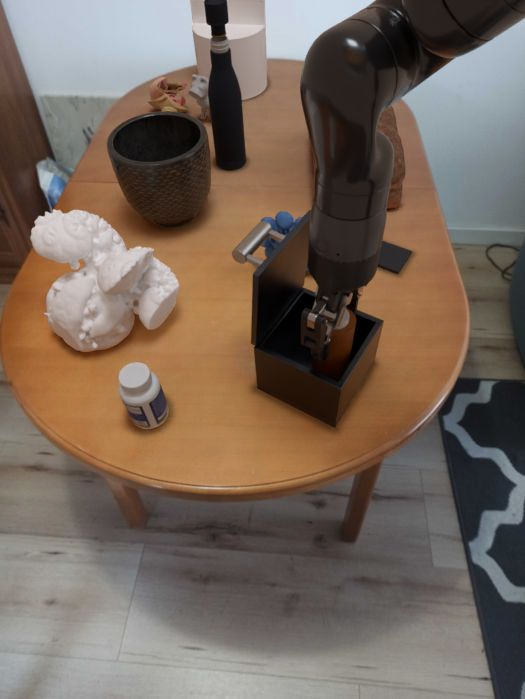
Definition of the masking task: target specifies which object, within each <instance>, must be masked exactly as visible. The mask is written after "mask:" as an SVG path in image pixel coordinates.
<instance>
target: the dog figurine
mask: <svg viewBox="0 0 525 699" xmlns="http://www.w3.org/2000/svg"><path fill="white" fill-rule="evenodd" d="M191 76H192V82H191V83H190V84H191V85H190V88H189V90H188V92H187V93H188V95H189V96H190V97H191V98H193V99H195V100H196V104H197V105H198V106H199V107H200V112H201V113H200V117H199V119H200V120H205V119H206V118H207V112H208V111H209V112H210V108H209V100H208V84H209V77H210V76H209V77H208V79H207V78H206V77H204V76H198V74H195V73H193V74H192V75H191Z"/></svg>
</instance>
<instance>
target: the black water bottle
mask: <svg viewBox="0 0 525 699" xmlns="http://www.w3.org/2000/svg"><path fill="white" fill-rule="evenodd" d="M204 6H205V15H206V23H207V24H208V25H210V26H211V36H212V38H211V41H210V44H211V50H210V56H211V65H212V67H211V72H210V77H209V84H208V100H209V108H210V111H209V114H210V121H211V122H210V124H211V130H212V140H213V148H214V156H215V162H216V166H217V168H220V169H222V170H224V171H236V170H239V169H241V168H243V167H244V166H245V165H246V163H247V155H246V154H247V153H246V138H245V126H244V113H243V111H244V110H243V100H242V96H241V90H240V86H239V82H238V79H237V76H236V74H235V71H234V69H233V66H232V59H231V50H230V48H229V44H228V43H229V40H228V38H227V36H225V35H226V30H225V24H227V23H228V22H229V19H228V7H227V0H205V1H204Z"/></svg>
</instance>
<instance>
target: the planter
mask: <svg viewBox="0 0 525 699" xmlns="http://www.w3.org/2000/svg"><path fill="white" fill-rule="evenodd" d="M106 150H107V154H108V157H109V160H110V163H111V167H112V170H113V172H114V175H115V178H116V180H117V183H118V185H119V188H120V190H121V193H122V194H123V196H124V197H125V200H126V202H127V203H128V205H129V206H130V207H131V209H132V210H133V211H134V212H135V213H137V215H138V216H140V217H141V218H143V219H145V220H147V221H149V222H151V223H153V224H154V225H156V226H159V227H162V228H168V229H173V228H179V227H182V226H184V225H187V224H189V223H190V222H191V221H192V220H193V219H194V218H195V217H196V215H197V214H198V213H199V212H200V211H201V210H202V209H203V208H204V206H205V204H206V203H207V200H208V198H209V194H210V191H211V184H212V165H211V164H212V163H211V162H212V161H211V149H210V142H209V134H208V131H207V127H206V126H205V124H204V123H203V122H202V121H201V120H199V119H198V118H197V117H195V116H192V115H190V114H187V113H185V112H181V113H179V112H171V111H162V112H161V111H153V112H146V113H143V114H138V115H136V116H133V117H130V118H128V119H127V120H125V121H122V122H121V123H120V124H118V125H117V126H116V127H115V128H114V129H112V131H111V132H110V133H109V135H108V137H107V141H106Z"/></svg>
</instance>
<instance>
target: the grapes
mask: <svg viewBox="0 0 525 699" xmlns="http://www.w3.org/2000/svg"><path fill="white" fill-rule="evenodd" d="M302 217H303V216H298V217H297V218H295V219H294V216H293V215H292V214H291V213H289V212H288V211H284V210H283V211H278V212H277V213H276V214H275V216H274V218H273V217H271V216H264V217H263V218H261V219H260V222H261V221H265V222H267V223H269V224H270V226H271V227H272V230H273V231H276V232H278V233H280V234H282V235H284V236H286V235H287V234H288V233H289V232H290V231H291V230H292V229H293V228H294V226H295V225H296V224H297V223H298V222H299V221H300V220H301V218H302ZM279 243H280V242H279V241H277V240H275V239H272V238H270V237H268V238H267V239H266V240H265V241H264V243H263V244H262V245H261V246H260V247H261V248H264V256H265V258H267V257H268V256H269V255H270V254H271V252H272V251H273V250H274V249H275V248H276V247H277V246H278V245H279ZM307 272H309V270H308V261H307V268H306V273H307Z"/></svg>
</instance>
